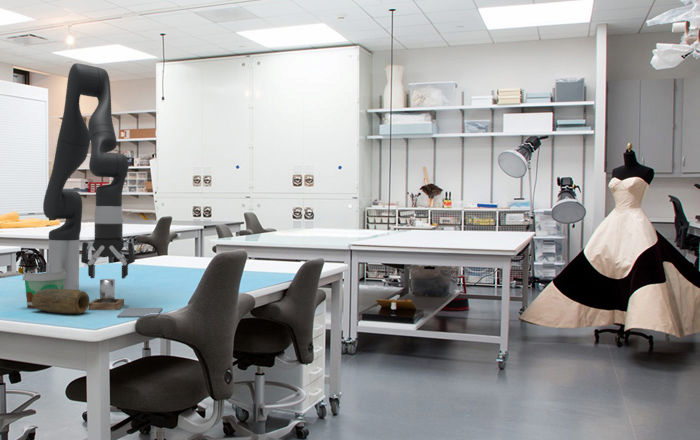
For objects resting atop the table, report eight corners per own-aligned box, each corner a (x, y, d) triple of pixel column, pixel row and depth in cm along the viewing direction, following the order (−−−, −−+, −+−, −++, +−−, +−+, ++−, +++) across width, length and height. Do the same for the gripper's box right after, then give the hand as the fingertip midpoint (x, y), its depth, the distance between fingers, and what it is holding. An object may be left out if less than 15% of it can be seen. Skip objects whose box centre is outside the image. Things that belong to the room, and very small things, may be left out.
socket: (88, 309, 172) (88, 303, 172) (95, 304, 180) (96, 298, 180) (118, 309, 174) (118, 303, 173) (124, 304, 181) (124, 298, 181)
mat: (117, 317, 163) (117, 315, 163) (126, 309, 175) (126, 307, 175) (156, 317, 165) (156, 315, 165) (162, 309, 176) (162, 307, 176)
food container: (34, 310, 169) (35, 274, 168) (22, 308, 172) (22, 272, 171) (75, 305, 179) (75, 271, 179) (62, 302, 182) (63, 269, 182)
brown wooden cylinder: (93, 312, 169) (93, 288, 169) (77, 317, 162) (77, 292, 162) (45, 308, 172) (45, 285, 172) (27, 313, 165) (28, 288, 165)
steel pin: (97, 308, 175) (98, 280, 174) (101, 306, 179) (101, 278, 178) (112, 308, 175) (113, 280, 175) (115, 306, 179) (116, 278, 179)
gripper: (78, 222, 171) (78, 279, 172) (131, 222, 173) (131, 279, 174) (86, 221, 179) (85, 276, 179) (136, 222, 181) (136, 276, 181)
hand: (108, 278), depth 176 cm, fingers open, 8 cm apart
